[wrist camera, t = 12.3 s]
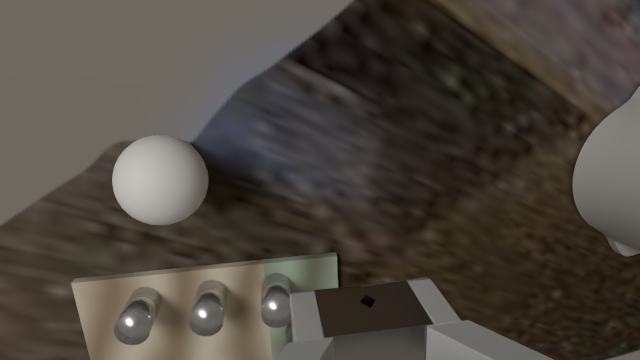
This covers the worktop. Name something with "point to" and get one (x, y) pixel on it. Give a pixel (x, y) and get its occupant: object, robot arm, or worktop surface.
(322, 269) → the board
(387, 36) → the worktop surface
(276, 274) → the spacers
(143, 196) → the lightbulb
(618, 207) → the robot arm
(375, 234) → the worktop surface
